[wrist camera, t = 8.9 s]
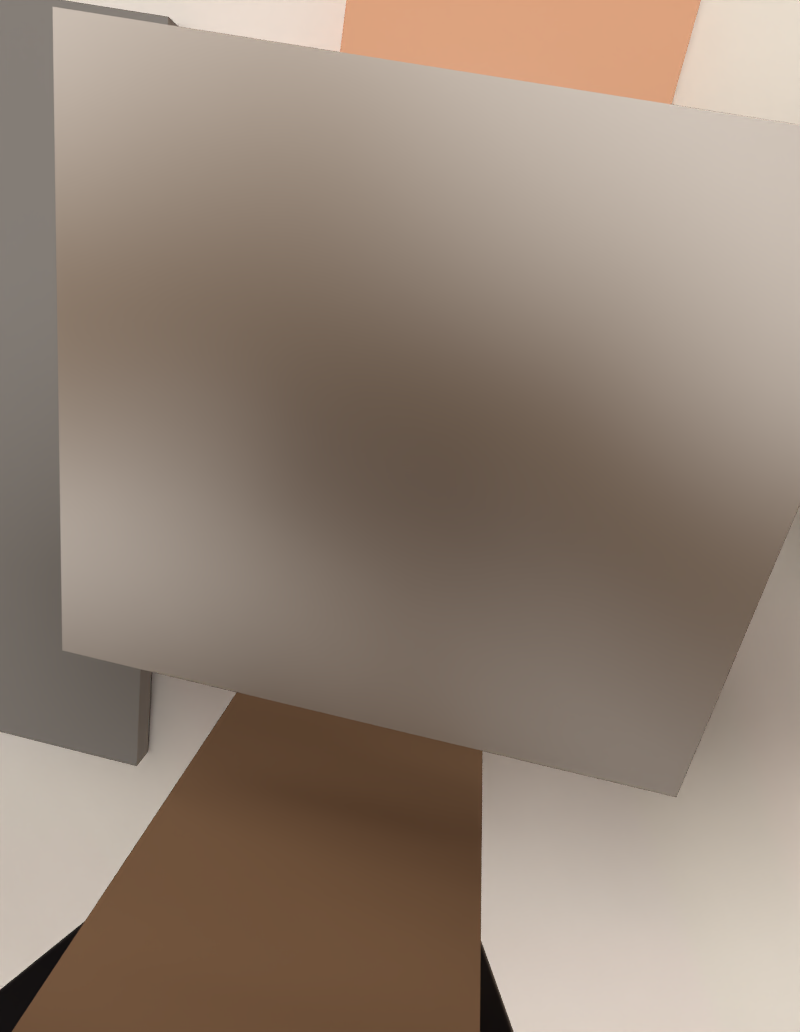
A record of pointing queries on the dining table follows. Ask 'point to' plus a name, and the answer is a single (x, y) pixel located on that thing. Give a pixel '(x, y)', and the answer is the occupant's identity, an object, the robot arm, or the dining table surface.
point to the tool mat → (42, 426)
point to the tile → (534, 40)
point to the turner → (395, 486)
